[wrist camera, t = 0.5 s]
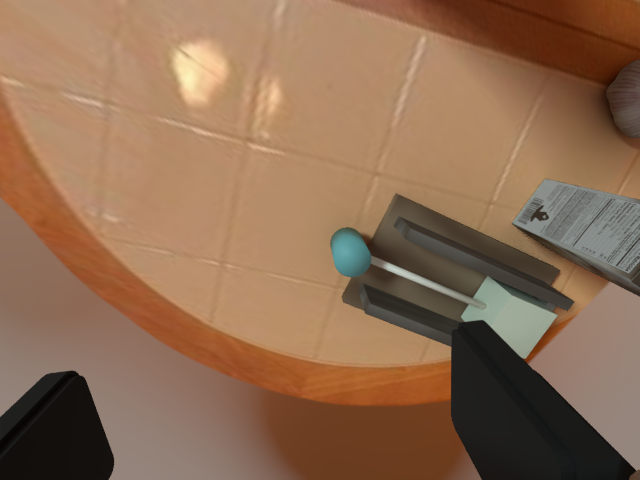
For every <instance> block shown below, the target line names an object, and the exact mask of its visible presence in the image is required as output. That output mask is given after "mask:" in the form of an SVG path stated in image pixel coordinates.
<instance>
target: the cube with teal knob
mask: <svg viewBox="0 0 640 480" xmlns="http://www.w3.org/2000/svg"><path fill="white" fill-rule="evenodd" d="M330 244H331V250H332V254H333V259H334V263H335V267H336V269H337V270H338V271H339V272H340V273H341V274H342V275H344V276H347V277H357V276H360V275H362V274H363V273H365V272H366V271H367V270H368V268H369V266H370V264H373V265H376V266H378V267H380V268H383V269H385V270H388V271H390V272H392V273H395V274H397V275H400V276H402V277H404V278H407V279H409V280H412V281H414V282H416V283H419V284H421V285H424V286H426V287H428V288H431V289H433V290H436V291H438V292H440V293H443V294H445V295H448V296H450V297H452V298H455V299H457V300H460V301H462V302H464V303H467V304H469V305H468V307H467V308H466V310H465V311H464V313H463V314H462V316H461V318H462V319H463V320H464V321H465V322H468V321H476V320H484V321H485V322H486V323H487V324H488V325H489V326H490V327H491V328H492V329H493V330H494V331H495V332H496V333H497V334H498V335H499V336H500V337H501V338H502V339H503V340H504V341H505V342H506V343H507V344H508V345H509V346H510V347H511V348H512V349H513V350H514V351H515V352H516V353H517V354H518V355H519V356H520V357H522V358H524V359H526V357H527V356H528V355H529V353H530V352H531V351H532V349H533V348H534V347H535V345H536V344H537V343H538V341H539V340H540V339H541V337H542V336H543V334H544V333H545V332H546V330H547V329H548V328H549V326H550V325H551V324H552V322H553V321H554V320H555V318H556V317H557V316H558V315H557V314H555V313H554V312H553V311H551V310H550V309H549V308H547V307H546V306H545V305H544V304H542V303H541V302H540V301H538V300H537V299H536V298H534V297H533V296H532V295H530V294H528V293H526V292H523V291H521V290H519V289H516V288H514V287H512V286H510V285H507V284H505V283H503V282H501V281H498V280H496V279H494V278H491V277H489V276H487V277H486V279H485V280H484V282H483V283H482V285H481V286H480V288H479V290H478V291H477V293H476V294H475V296H474V297H473V298H471V297H469V296H466V295H464V294H461V293H459V292H457V291H454V290H452V289H450V288H447V287H445V286H442V285H440V284H438V283H435V282H433V281H431V280H428V279H426V278H424V277H421V276H419V275H416V274H414V273H412V272H409V271H407V270H405V269H402V268H400V267H397V266H395V265H393V264H390V263H388V262H386V261H383V260H381V259H378V258H376V257H374V256H371V254H370V252H369V250H368V248H367V246H366V244H365V242H364V240H363V238H362V236H361V234H360V233H359V232H358V231H357V230H355V229H353V228H342V229H339V230H338V231H336V232H335V233H334V235H333V236H332V238H331V243H330Z"/></svg>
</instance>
